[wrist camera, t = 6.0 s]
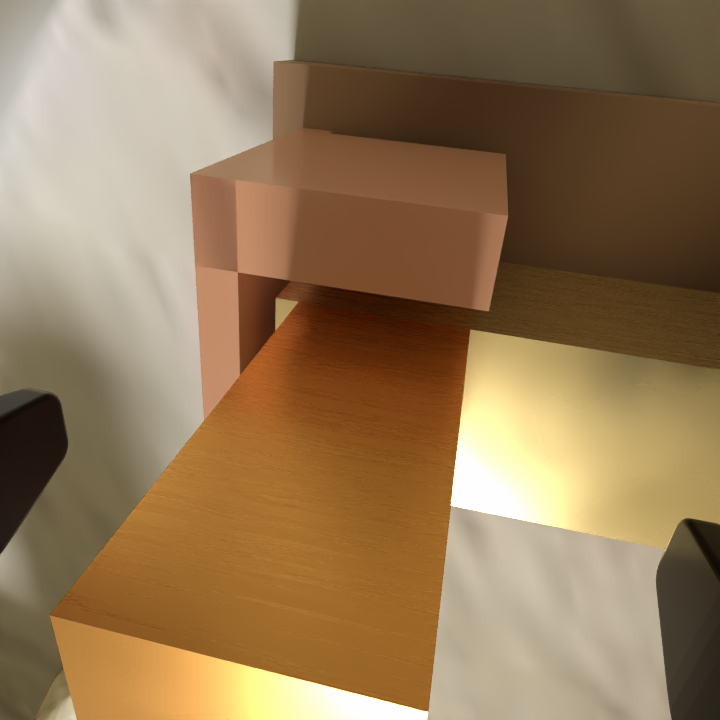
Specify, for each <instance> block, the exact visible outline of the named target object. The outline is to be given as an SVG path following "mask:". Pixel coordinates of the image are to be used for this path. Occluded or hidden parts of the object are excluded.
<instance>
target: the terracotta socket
mask: <svg viewBox="0 0 720 720" xmlns="http://www.w3.org/2000/svg"><path fill="white" fill-rule="evenodd" d="M332 132H333V131H327V130H318V129H309V128H301V129H298V130H296V131H293V132H291V133H288V134H286V135H284V136H281V137H279V138H276V139H274V140H271V141H269V142H267V143H264V144H262V145H259V146H257V147H254V148H252V149H249V150H247V151H245V152H242V153H240V154H237V155H235V156H232V157H230V158H227V159H225V160H223V161H220V162H218V163H215V164H213V165H210V166H208V167H206V168H203V169H201V170H198V171H196V172H193V173H191V174H190V181H191V198H192V216H193V233H194V251H195V268H196V286H197V304H198V321H199V339H200V356H201V374H202V391H203V409H204V420H205V419H206V418H207V417H208V415H209V414H210V413H211V411H212V410H213V409H214V408H215V406H216V405H217V404H218V403H219V401H220V400H221V399H222V398H223V396H224V395H225V394H226V393H227V391H228V390H229V389H230V388H231V386H232V385H233V384H234V383H235V381H236V380H237V379H238V377H239V376H240V375H241V374H242V372H243V371H244V370H245V369H246V367H247V366H248V365H249V364H250V362H251V361H252V360H253V359H254V357H255V356H256V355H257V354H258V352H259V351H260V350H261V349H262V347H263V346H264V345H265V343H266V342H267V341H268V340H269V338H270V337H271V336H272V335H273V333H274V332H275V313H276V297H277V296H278V295H279V294H280V293H281V292H282V290H283V289H284V288H285V287H286V286H287V285H288V284H289V283H290V282H291V281H297V282H303V283H309V284H316V285H322V286H329V287H335V288H341V289H348V290H354V291H361V292H367V293H373V294H380V295H386V296H393V297H399V298H405V299H412V300H418V301H425V302H431V303H438V304H444V305H450V306H457V307H463V308H470V309H476V310H482V311H489V308H490V303H491V298H492V293H493V288H494V283H495V278H496V274H497V269H498V264H499V259H500V254H501V249H502V244H503V239H504V234H505V229H506V224H507V219H508V198H507V173H506V154H501V153H493V152H484V151H476V150H467V149H459V148H450V147H442V146H433V145H425V144H416V143H408V142H399V141H391V140H382V139H374V138H365V137H357V136H348V135H340V134H332Z"/></svg>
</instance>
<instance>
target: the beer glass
mask: <svg viewBox="0 0 720 720" xmlns="http://www.w3.org/2000/svg"><path fill="white" fill-rule="evenodd" d="M34 720H77V719H76V715H75V711H74V707H73V703H72V699H71V695H70V692H69V688H68V684H67V680H66V676H65V672H64V670H63V671H61V672H60V673H59V674H58V676H57V677H56V679H55V680H54V682H53V683H52V685H51V687H50V689H49V691H48V693H47V695H46V697H45V699H44V701H43V703H42V705H41V707H40V709H39V711H38V713H37V715H36V717H35V719H34Z"/></svg>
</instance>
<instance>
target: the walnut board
mask: <svg viewBox="0 0 720 720" xmlns="http://www.w3.org/2000/svg"><path fill="white" fill-rule="evenodd" d="M301 128H309V129H318V130H327V131H333V132H332V134H340V135H348V136H357V137H365V138H374V139H382V140H391V141H399V142H408V143H416V144H425V145H433V146H442V147H450V148H459V149H467V150H476V151H484V152H493V153H501V154H506V173H507V198H508V219H507V224H506V229H505V234H504V239H503V244H502V249H501V254H500V259H499V262H506V263H513V264H520V265H527V266H534V267H541V268H548V269H555V270H562V271H569V272H576V273H583V274H590V275H597V276H604V277H611V278H618V279H625V280H632V281H639V282H646V283H653V284H660V285H667V286H673V287H680V288H687V289H694V290H701V291H708V292H715V293H720V103H716V102H706V101H696V100H686V99H676V98H666V97H656V96H646V95H636V94H626V93H616V92H606V91H596V90H586V89H576V88H566V87H556V86H546V85H536V84H526V83H516V82H506V81H496V80H486V79H476V78H466V77H456V76H446V75H436V74H426V73H416V72H406V71H396V70H386V69H376V68H366V67H356V66H346V65H336V64H326V63H316V62H306V61H296V60H288V61H274V81H273V140H274V139H276V138H279V137H281V136H284V135H286V134H288V133H291V132H293V131H296V130H298V129H301Z"/></svg>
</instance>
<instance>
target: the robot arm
mask: <svg viewBox="0 0 720 720" xmlns="http://www.w3.org/2000/svg"><path fill="white" fill-rule="evenodd" d="M67 449H68V436H67V431H66V426H65V421H64V416H63V411H62V406H61V402H60V400H59V398H58V397H57V396H56V395H55V394H53V393H51V392H46V391H41V390H36V389H22V390H18V391H15V392H11V393H8V394H5V395H1V396H0V554H1V553H2V552H3V550H4V549H5V547H6V546H7V545H8V543H9V542H10V540H11V539H12V537H13V536H14V534H15V533H16V531H17V530H18V528H19V527H20V525H21V524H22V522H23V521H24V519H25V518H26V516H27V515H28V513H29V512H30V510H31V509H32V507H33V505H34V504H35V502H36V501H37V499H38V498H39V496H40V495H41V493H42V492H43V490H44V489H45V487H46V486H47V484H48V483H49V481H50V479H51V478H52V476H53V475H54V473H55V472H56V470H57V469H58V467H59V466H60V464H61V463H62V461H63V459H64V458H65V455H66V453H67ZM656 589H657V598H658V608H659V617H660V627H661V636H662V646H663V655H664V665H665V674H666V684H667V692H668V700H669V707H670V713H671V719H672V720H720V524H717V523H713V522H708V521H702V520H697V519H692V518H685V519H682V520H681V521H680V522H679V523H678V524H677V526H676V528H675V530H674V532H673V534H672V537H671V539H670V541H669V543H668V545H667V548H666V550H665V552H664V554H663V556H662V558H661V561H660V563H659V566H658V569H657V575H656Z"/></svg>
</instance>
